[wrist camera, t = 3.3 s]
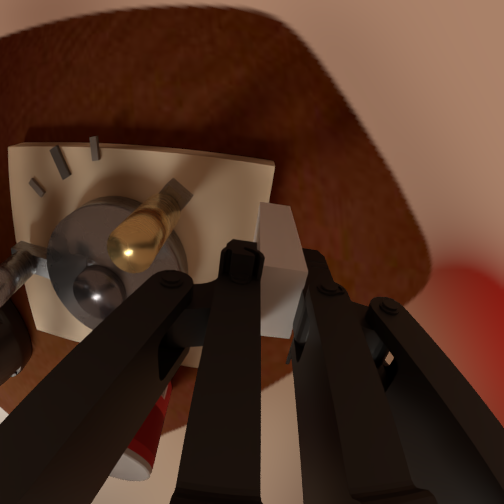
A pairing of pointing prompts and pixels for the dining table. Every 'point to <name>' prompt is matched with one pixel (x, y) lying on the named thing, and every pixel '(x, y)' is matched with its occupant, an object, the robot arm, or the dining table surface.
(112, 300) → the cam capstan
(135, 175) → the stand
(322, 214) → the dining table surface
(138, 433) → the canned food
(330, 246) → the dining table surface
